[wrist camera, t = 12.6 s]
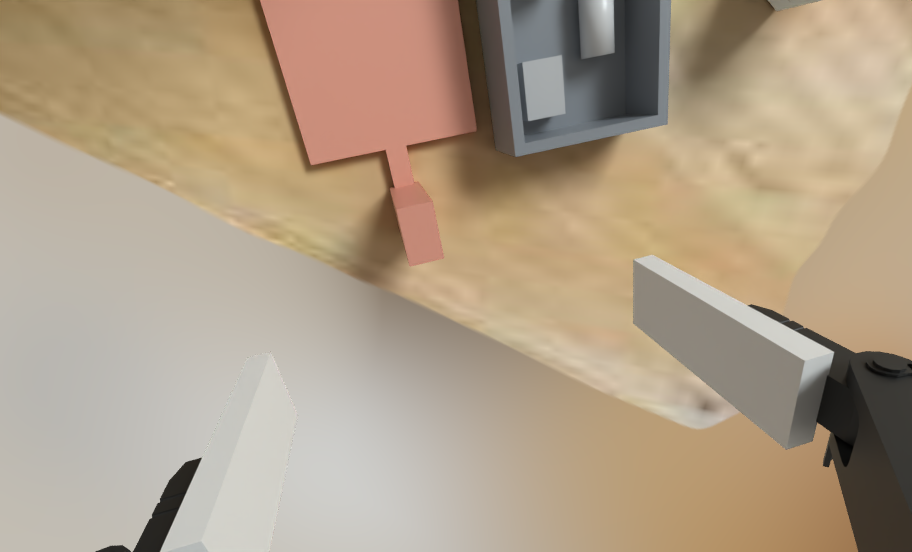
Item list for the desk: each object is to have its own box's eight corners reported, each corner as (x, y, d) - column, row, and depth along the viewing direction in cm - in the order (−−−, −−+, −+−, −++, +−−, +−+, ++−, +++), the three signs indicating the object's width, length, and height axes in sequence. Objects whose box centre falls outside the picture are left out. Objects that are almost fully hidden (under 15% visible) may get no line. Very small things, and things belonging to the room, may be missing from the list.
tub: (458, -132, 27) (477, -178, 23) (627, -154, 29) (676, -202, 24) (495, 150, 35) (515, 156, 30) (629, 121, 36) (667, 124, 32)
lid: (211, -162, 25) (148, -274, 17) (427, -186, 26) (451, -299, 19) (338, 248, 35) (331, 285, 28) (487, 214, 37) (517, 240, 29)
